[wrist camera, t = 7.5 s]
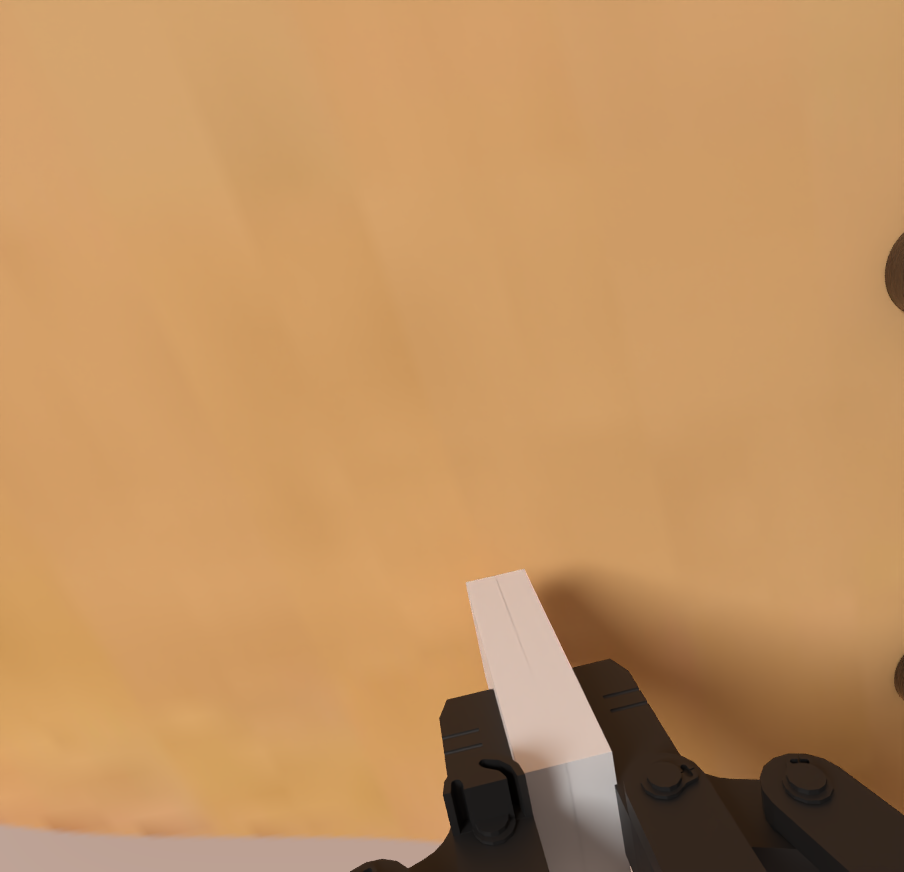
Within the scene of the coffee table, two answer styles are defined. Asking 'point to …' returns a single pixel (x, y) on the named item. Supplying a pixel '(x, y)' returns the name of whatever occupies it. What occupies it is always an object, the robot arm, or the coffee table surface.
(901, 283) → the post
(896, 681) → the post
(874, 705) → the coffee table surface
